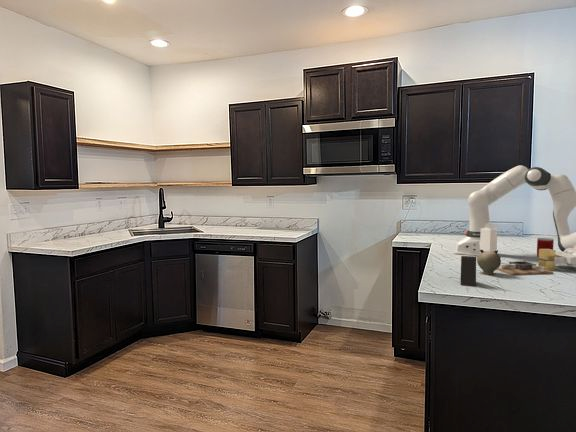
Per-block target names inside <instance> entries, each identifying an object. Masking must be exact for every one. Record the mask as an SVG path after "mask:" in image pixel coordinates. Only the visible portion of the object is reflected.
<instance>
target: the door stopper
mask: <svg viewBox="0 0 576 432" xmlns="http://www.w3.org/2000/svg"><path fill="white" fill-rule="evenodd" d="M460 258H461V259H460V286H465V287H466V286H470V287H477V256H474V255H461V257H460Z"/></svg>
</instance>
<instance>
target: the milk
mask: <svg viewBox="0 0 576 432" xmlns="http://www.w3.org/2000/svg"><path fill="white" fill-rule="evenodd" d="M497 248H498V228H497V227H495V226H494V225H493V222H489V223H486V226H485V227H483V228H481V233H480V250H483V251H497ZM480 253H481V252H480Z"/></svg>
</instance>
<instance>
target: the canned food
mask: <svg viewBox="0 0 576 432" xmlns="http://www.w3.org/2000/svg"><path fill="white" fill-rule="evenodd" d="M554 242H555V241H554V238H552V237H551V238H550V237H538V238H537V240H536V257H537V258H539V249H552V250H554V246H555V245H554V244H555V243H554Z"/></svg>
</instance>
